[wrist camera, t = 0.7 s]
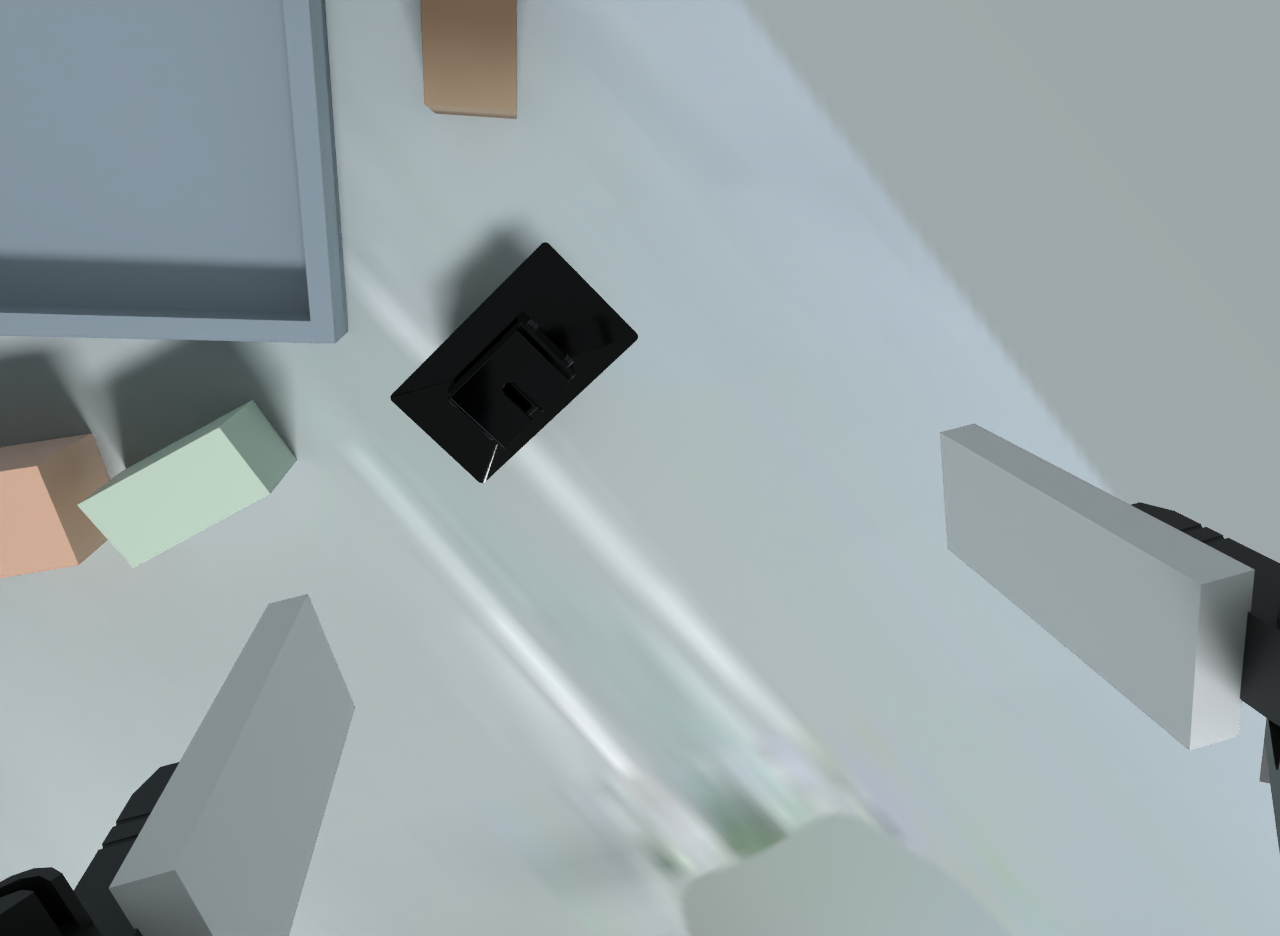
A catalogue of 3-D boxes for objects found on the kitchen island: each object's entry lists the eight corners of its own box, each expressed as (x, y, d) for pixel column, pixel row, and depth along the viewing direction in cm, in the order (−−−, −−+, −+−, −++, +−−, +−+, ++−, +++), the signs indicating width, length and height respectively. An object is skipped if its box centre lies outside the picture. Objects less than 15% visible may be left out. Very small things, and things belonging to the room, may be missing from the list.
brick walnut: (516, 119, 30) (516, 110, 27) (435, 113, 30) (424, 104, 26) (516, -64, 28) (516, -101, 25) (430, -73, 28) (416, -112, 24)
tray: (-151, 318, 29) (-209, 330, 27) (-331, -326, 23) (-427, -383, 21) (348, 331, 32) (334, 343, 30) (307, -241, 26) (286, -284, 23)
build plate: (471, 512, 36) (464, 558, 32) (344, 402, 34) (316, 435, 29) (672, 324, 34) (693, 345, 30) (553, 192, 32) (557, 195, 27)
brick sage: (175, 525, 34) (133, 568, 30) (127, 467, 33) (76, 504, 29) (297, 459, 33) (270, 493, 30) (253, 398, 32) (218, 427, 29)
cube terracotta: (27, 538, 33) (-35, 584, 29) (-13, 448, 31) (-84, 484, 28) (127, 522, 33) (78, 565, 30) (92, 432, 32) (36, 466, 28)
